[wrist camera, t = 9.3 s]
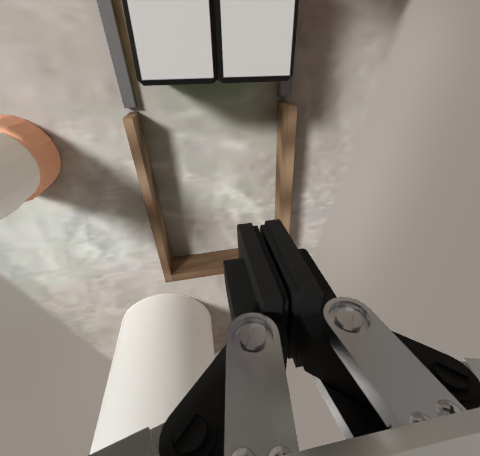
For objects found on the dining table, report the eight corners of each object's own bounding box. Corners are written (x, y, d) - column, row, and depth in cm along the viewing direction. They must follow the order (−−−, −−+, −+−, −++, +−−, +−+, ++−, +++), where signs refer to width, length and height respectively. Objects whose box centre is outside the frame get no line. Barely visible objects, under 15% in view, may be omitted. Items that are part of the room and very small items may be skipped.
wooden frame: (129, 112, 26) (122, 118, 23) (285, 100, 27) (297, 105, 25) (167, 264, 36) (166, 282, 33) (279, 248, 38) (287, 263, 35)
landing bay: (87, -48, 20) (83, -51, 19) (294, -49, 22) (297, -52, 21) (126, 107, 25) (124, 108, 25) (287, 95, 27) (290, 96, 27)
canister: (129, 356, 44) (95, 534, 27) (114, 297, 37) (56, 489, 20) (210, 346, 47) (225, 505, 30) (211, 290, 40) (229, 456, 23)
